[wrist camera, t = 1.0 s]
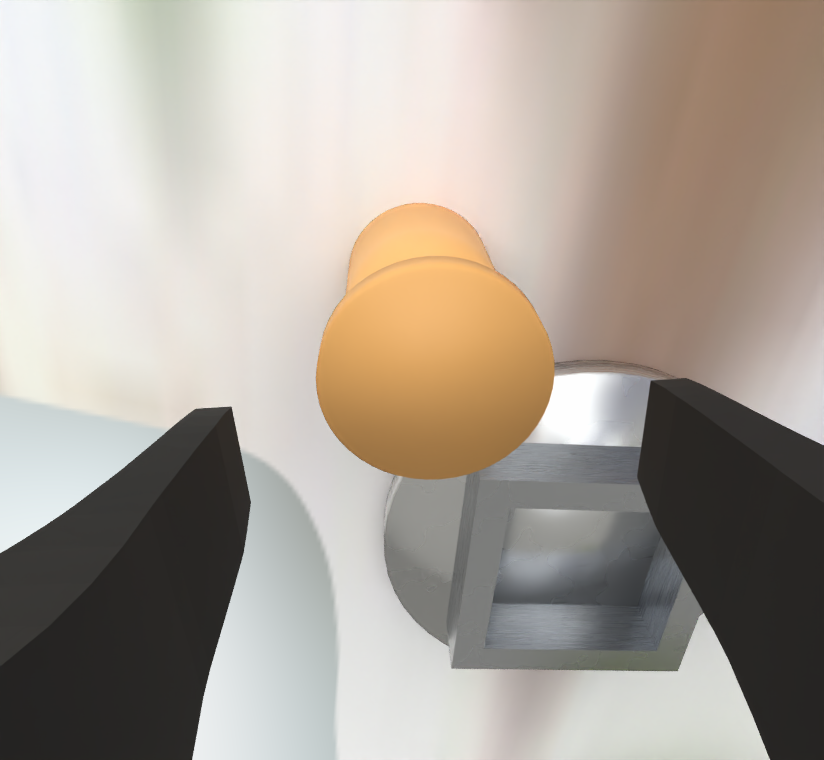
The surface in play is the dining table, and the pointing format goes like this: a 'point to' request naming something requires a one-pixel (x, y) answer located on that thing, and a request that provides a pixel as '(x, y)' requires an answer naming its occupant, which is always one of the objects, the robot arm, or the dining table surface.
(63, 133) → the dining table surface
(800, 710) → the robot arm
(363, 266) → the pin
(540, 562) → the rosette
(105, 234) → the dining table surface
